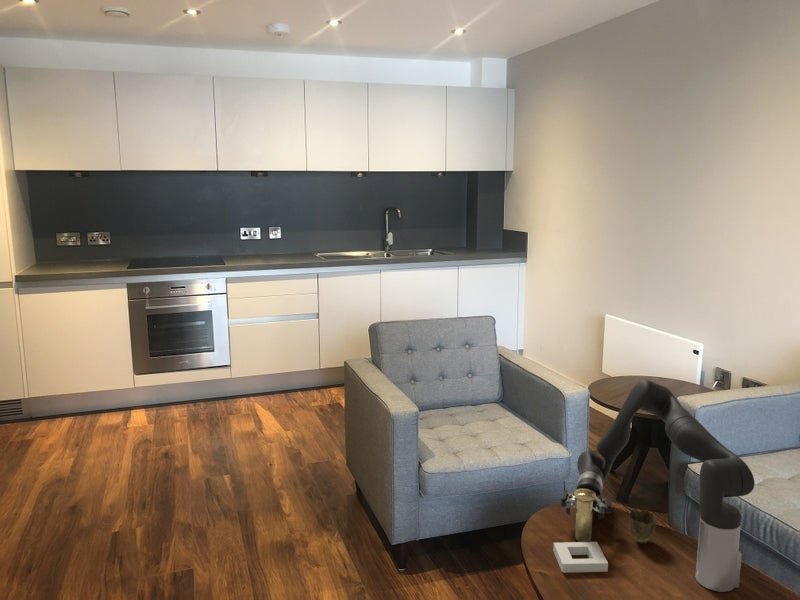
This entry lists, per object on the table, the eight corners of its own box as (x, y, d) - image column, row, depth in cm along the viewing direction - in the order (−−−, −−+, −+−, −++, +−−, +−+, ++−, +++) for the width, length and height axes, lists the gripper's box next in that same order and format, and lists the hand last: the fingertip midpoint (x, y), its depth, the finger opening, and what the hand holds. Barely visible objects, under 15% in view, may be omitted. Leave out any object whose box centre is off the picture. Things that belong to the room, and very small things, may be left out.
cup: (651, 534, 192) (652, 508, 190) (658, 548, 184) (660, 522, 183) (624, 533, 192) (626, 508, 191) (631, 547, 185) (632, 521, 184)
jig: (596, 549, 184) (596, 541, 184) (607, 571, 175) (608, 563, 174) (553, 550, 184) (553, 542, 184) (562, 572, 175) (562, 564, 174)
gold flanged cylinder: (590, 532, 193) (592, 488, 190) (596, 543, 187) (598, 498, 185) (570, 532, 193) (572, 488, 190) (575, 544, 187) (577, 499, 184)
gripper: (565, 473, 205) (559, 498, 190) (614, 480, 200) (611, 506, 185) (565, 495, 206) (558, 521, 191) (613, 503, 201) (609, 530, 186)
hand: (584, 514), depth 188 cm, fingers open, 8 cm apart
